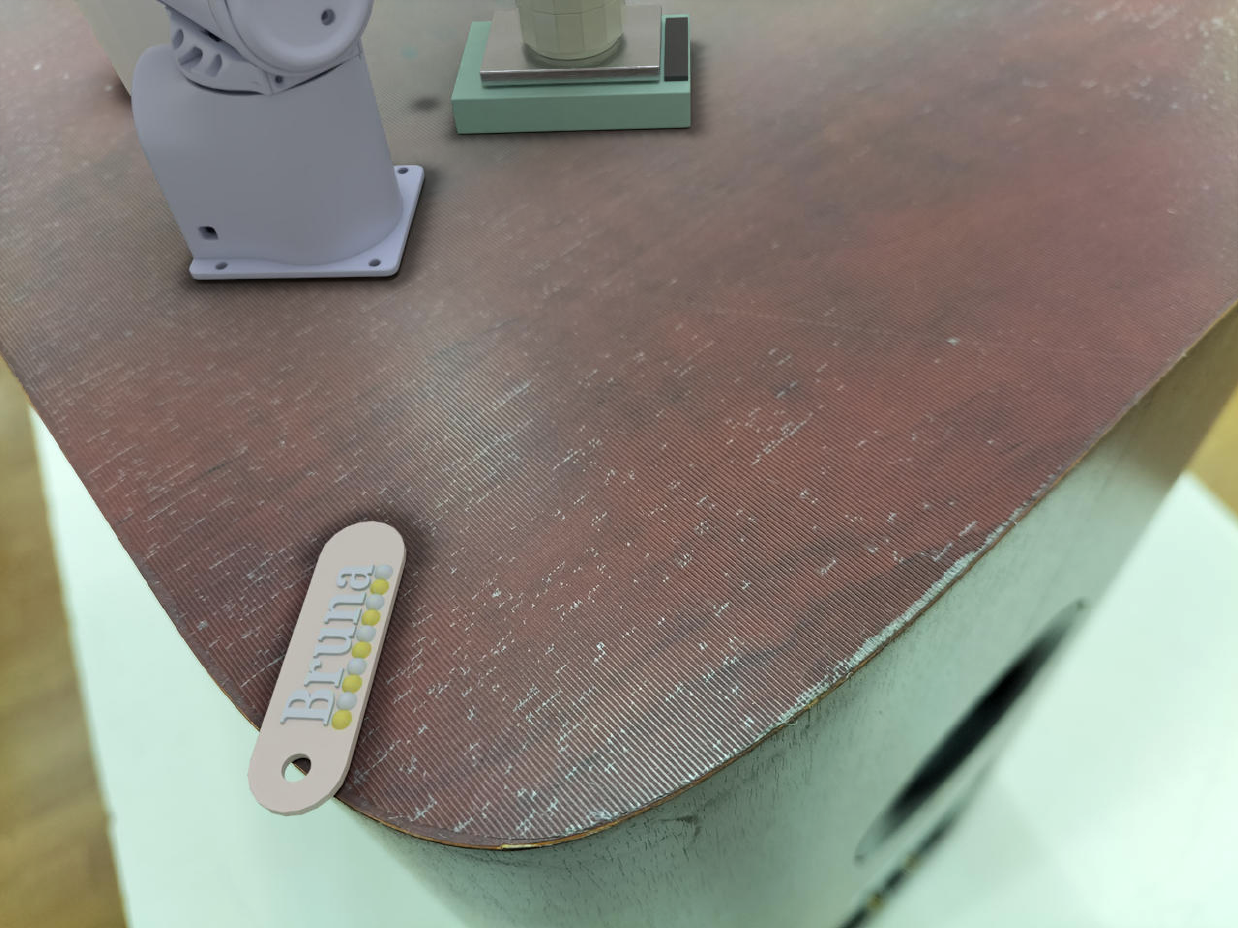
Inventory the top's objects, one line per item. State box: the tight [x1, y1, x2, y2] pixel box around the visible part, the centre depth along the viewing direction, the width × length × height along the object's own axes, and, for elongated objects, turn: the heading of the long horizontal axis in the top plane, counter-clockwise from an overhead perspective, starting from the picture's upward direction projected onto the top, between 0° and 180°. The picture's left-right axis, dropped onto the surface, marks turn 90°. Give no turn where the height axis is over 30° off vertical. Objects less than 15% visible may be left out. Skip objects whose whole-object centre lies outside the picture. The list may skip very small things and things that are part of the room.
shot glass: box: [74, 0, 171, 97], centre depth 55 cm, size 7×7×7 cm
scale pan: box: [479, 4, 663, 86], centre depth 52 cm, size 9×6×1 cm
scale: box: [450, 13, 692, 135], centre depth 53 cm, size 12×8×2 cm, turn 88°
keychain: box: [246, 520, 407, 817], centre depth 32 cm, size 10×1×3 cm
